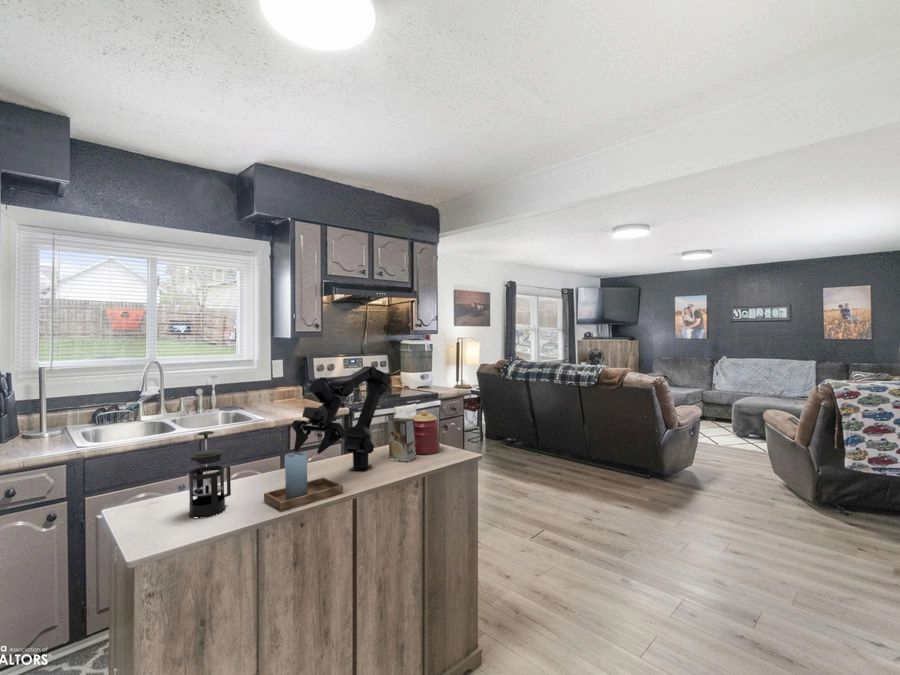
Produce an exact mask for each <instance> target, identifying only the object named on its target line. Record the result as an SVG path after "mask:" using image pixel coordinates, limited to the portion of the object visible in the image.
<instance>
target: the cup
mask: <svg viewBox="0 0 900 675" xmlns="http://www.w3.org/2000/svg"><path fill="white" fill-rule="evenodd" d="M284 479H285V480H284V482H285V483H284V485H285V487H284V488H285V491H286V500H290V499H294V498H297V497H301V496H304V495H307V494H308V485H307V482H308V454H307V452H305V451H297V452H296V451H295V452H290V453H286V454H285V455H284Z"/></svg>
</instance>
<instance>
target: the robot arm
mask: <svg viewBox="0 0 900 675" xmlns="http://www.w3.org/2000/svg"><path fill="white" fill-rule="evenodd" d="M365 382H366V383H367V384H366V387H367V390H368V391H367V395H366V397H365V400H364V403H363V405H362V408H361V411H360V414H359V417H358V419H357V422H356V424H355V425H354V426H349V427H348V430H347V431H346V429H345V428H344V427H343V425H342V424H341V423H340V422H336V421H337V417H336V416H337V414H338V411H339V410H340V409H345V407H346V405H345V403H344V400H343V399H342V398H348V397H350V395H352V393H353V392H354V390H355V388H356V387H358V386H360V385H361V384H363V383H365ZM390 383H391V378H390V377H389V375H388V374H387V373H385V372H384V371H382V370H379V369H377V368H376V367H375V366H369V365H367V366H366V365H364V366H363V367H362V368H361V369H359V370H357V371H355V372H353V373H352V374H350V375H348V376H347V377H343V378H337V379H333V380H332V381H330V382H328V379H327V378H326V377H319V379H318V380H315V381H314V382H312V383H311V384H310V386H309V388H308V390H309V392H310V393H311V395H312V396H313V397H314V398H315V400H317V402H318V403H319V404H321V405H320V406H318V407H315V406H314V407H313V406H311V407H310V406H304V408H303V412H302V416H301V417H302V418H306V419H308V422H309V423H310V424H308V423H307V422H306V420H302V419H295V420H293V422H292V423H291V425H290V427H291V428H292V429H293V431H294V432H295V442H294V448H293V450H294V451H295V452H299V450H300V449H301V447H302V446H303V445H304V444H305V442H306V441H307V440H308V439H309V435H311V433H312V432H315V433H316V432H317V433H324V435H323V438H322V440H321V442H320V444H319V446H318V448H317V451H316V454H318V455H320V454H321V453H323V452H325V451H326V450H327V449H328V448H329V447H331V446H332V445H334V444H336V443H337V442H339V441H341V440H344V439H345V440H344V444H345V447H346V450H347V453H351V454H352V467H350V468H349V471H356V472H359V471H360V472H361V471H362V472H363V471H364V472H366V471H367V470H369V469H370V468H371V467H373V466H372V464H369V454H372V453H374V449H375V444H374V443H372V441H371V433H370V426H371V423H372V420H373V418H374V415H375V413H376V409H377V407H378V404H379V400H380V398H381V397H382V395H383V394H384V393H386V392H387V390H388V388H389V386H390Z"/></svg>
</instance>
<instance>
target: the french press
mask: <svg viewBox="0 0 900 675" xmlns="http://www.w3.org/2000/svg"><path fill="white" fill-rule="evenodd" d="M214 433H215V432H214V431H211V430H210V431H209V430H207V431H201V432H198V433H197V435H198V436H203V439H204V440H205V442H204V445H205V449H204V450H198V451H195V452H192V453H189V454H188V455H187V456H188V458H189V460H190V461H191V462H194V461H195V462H197V463H198V464H199V465H205V466H201V467H197V468H194V469H192V470H190V471H189V472H188V481H189V482H188V483H189V484H188V485H189V486H188V487H189V490H188V491H189V503H188V504H189V505H188V506H189V512H188V516H189V517H190V516H191V517H198V518H197V519H201V518H200V517H206V518H210V516H211V517H214V516H213V515H215V516H217V515H216V514H218V515H220V514H222V513H224V512H225V511H226V510H225V509H227V507H226V499H225V498H227V497H230V496H232V495H231V494H232V489H231V466H230V465H208V464H213V463H217V462H221V461H222V460H223V454H224V451H225V450H224V449H217V448H216V449H208V443H207V441H208V438H209V435H212V434H214ZM225 469H226V474H225ZM209 471H215V472H211V473H208V472H209ZM204 472H205V474H204ZM224 475H226V493H225V476H224ZM219 476H220V477H219ZM218 477H219V478H220V482H219V483H220V484H218ZM209 479H210V484H208V483H209V482H208V481H209ZM194 480H195V481H196V488H194V484H193V482H194ZM204 480H206V481H205V483H206V485H204ZM219 493H220V494H219ZM194 497H195V499H194ZM224 510H225V511H224ZM223 511H224V512H223ZM221 512H222V513H221ZM219 513H220V514H219ZM191 517H190V518H191Z"/></svg>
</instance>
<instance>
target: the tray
mask: <svg viewBox="0 0 900 675" xmlns="http://www.w3.org/2000/svg"><path fill="white" fill-rule="evenodd" d="M307 485H308V494H307V495H304V496H301V497H297V498H294V499H290V500H286V491H285V487H283V488H278V489H275V490H271V491H267V492H264V493H263V501H265V502H264V503H266V504H267V503H268V505H269V506H271V507H273V508H275V509H276V510H277V511H279V512H282V513H283V512H286V511H289V510H292V509H296V508H298V507H301V506H305V505H309V504H312V503H315V502H319V501H322V500H325V499H329V498H332V497H335V496H338V495H341V494H343V493H344V486H343V484H340V483H338V482H335V481H333V480H330V479H328V478H326V477H321V478H316V479H313V480H309V481H308V480H307Z"/></svg>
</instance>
